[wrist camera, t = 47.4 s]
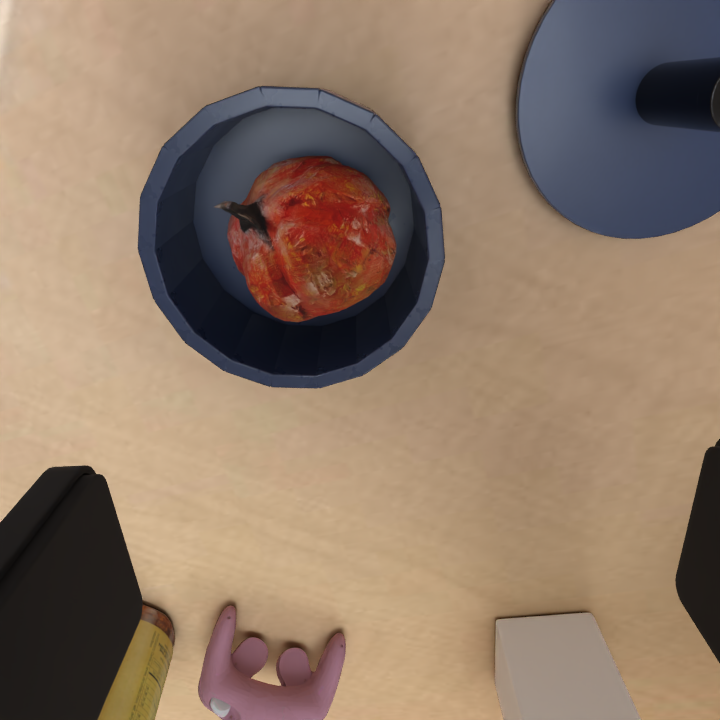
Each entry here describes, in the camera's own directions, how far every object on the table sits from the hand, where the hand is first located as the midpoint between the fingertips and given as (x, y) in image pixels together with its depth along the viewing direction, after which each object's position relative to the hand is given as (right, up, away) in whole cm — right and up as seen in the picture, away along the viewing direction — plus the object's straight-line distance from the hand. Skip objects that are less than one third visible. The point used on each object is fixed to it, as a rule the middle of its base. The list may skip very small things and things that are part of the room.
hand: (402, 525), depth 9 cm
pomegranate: (-3, +9, +20) cm, 22 cm away
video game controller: (-7, -18, +33) cm, 39 cm away
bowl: (-4, +10, +20) cm, 22 cm away
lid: (+13, +15, +17) cm, 26 cm away
